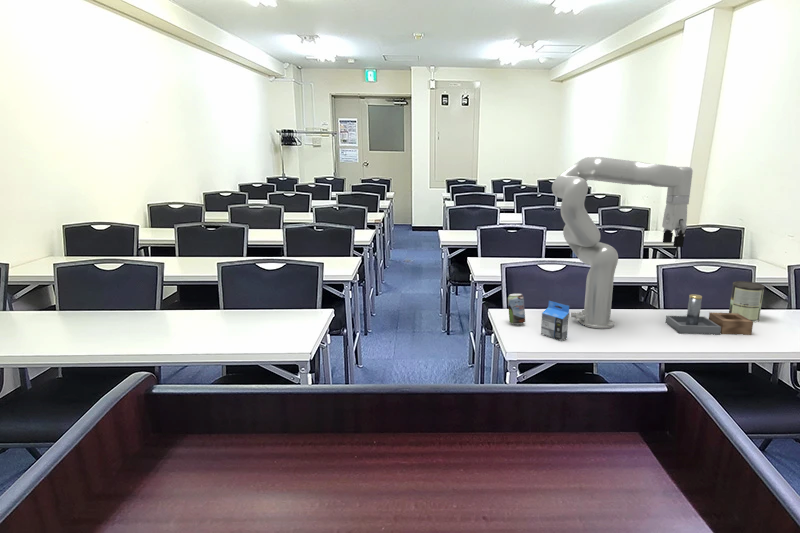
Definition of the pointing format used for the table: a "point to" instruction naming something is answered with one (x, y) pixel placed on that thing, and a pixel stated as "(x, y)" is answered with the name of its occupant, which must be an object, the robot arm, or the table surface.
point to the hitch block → (732, 323)
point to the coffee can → (747, 299)
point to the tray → (703, 326)
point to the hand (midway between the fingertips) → (672, 244)
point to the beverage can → (516, 309)
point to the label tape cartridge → (555, 321)
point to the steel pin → (693, 309)
